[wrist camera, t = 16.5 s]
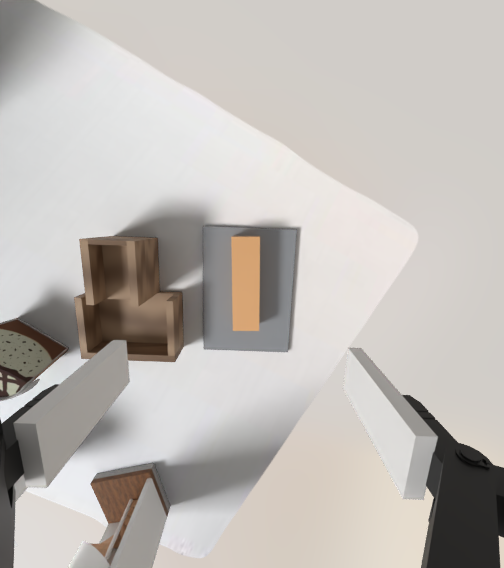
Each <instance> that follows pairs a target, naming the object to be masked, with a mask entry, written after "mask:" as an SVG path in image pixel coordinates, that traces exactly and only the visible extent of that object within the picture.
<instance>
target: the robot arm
mask: <svg viewBox="0 0 504 568" xmlns="http://www.w3.org/2000/svg"><path fill="white" fill-rule="evenodd" d="M129 382H130V381H129V369H128V356H127V343H126V340H113V341H111V342H110V343H109V344H108V345H107V346H105V347H104V348H103V349H102V350H101V351H99V352H98V353H97V354H96V355H94V356H93V357H92V358H91V359H90V360H88V361H87V362H86V363H85V364H84V365H82V366H81V367H80V368H79V369H78V370H76V371H75V372H74V373H73V374H72V375H70V376H69V377H68V378H67V379H66V380H64V381H63V382H62V383H61V384H60V385H57V384H55V385H53V386H52V387H50V388H48V389H46V390H44V391H42V392H41V393H40V394H38V395H37V396H36V397H35V398H33V400H32V401H30V402H28V403H27V404H26V405H25V406H24V407H22V408H21V409H19V410H18V411H17V412H16V413H14V414H13V415H12V416H11V417H9V418H8V419H7V420H6V421H4V422H3V423H2V424H1V420H0V568H13V563H14V562H13V561H14V530H15V496H16V491H15V486H14V484H15V483H16V482H17V481H18V480H19V478H20V477H21V476H22V475H23V474H24V479H25V484H26V487H36V488H47V487H48V486H49V485H50V483H51V482H52V481H53V479H54V478H55V477H56V476H57V474H58V473H59V472H60V470H61V469H62V468H63V467H64V465H65V464H66V463H67V461H68V460H69V459H70V458H71V456H72V455H73V454H74V452H75V451H76V450H77V449H78V447H79V446H80V445H81V444H82V442H83V441H84V440H85V438H86V437H87V436H88V435H89V433H90V432H91V431H92V429H93V428H94V427H95V426H96V424H97V423H98V422H99V420H100V419H101V418H102V417H103V415H104V414H105V413H106V411H107V410H108V409H109V408H110V406H111V405H112V404H113V402H114V401H115V400H116V399H117V397H118V396H119V395H120V394H121V392H122V391H123V390H124V388H125V387H126V386H127V385H128V383H129ZM343 390H344V391H345V393H346V395H347V397H348V399H349V401H350V403H351V405H352V406H353V408H354V410H355V412H356V414H357V416H358V417H359V419H360V421H361V423H362V425H363V427H364V428H365V430H366V432H367V434H368V436H369V438H370V439H371V441H372V443H373V445H374V447H375V449H376V451H377V452H378V454H379V456H380V458H381V459H382V461H383V463H384V465H385V467H386V469H387V471H388V472H389V474H390V476H391V478H392V480H393V482H394V484H395V485H396V487H397V489H398V491H399V493H400V495H401V497H402V498H403V499H418V500H419V499H420V500H423V499H424V495H425V490H426V487H427V488H428V489H429V491H430V492H431V494H432V495H433V497H434V500H433V504H432V508H431V512H430V516H429V526H428V532H427V537H426V543H425V548H424V554H423V560H422V565H421V568H500V554H499V537H498V536H501V537H504V468H502V467H499V466H495V465H493V464H492V463H491V462H490V461H489V459H488V458H487V457H485V456H484V455H483V454H482V453H480V452H479V451H477V450H475V449H474V448H472V447H470V446H467V445H464V444H461V443H458V442H457V441H456V440H455V439H454V438H453V437H452V436H451V435H450V434H449V433H448V432H447V430H446V429H445V428H444V427H443V426H442V425H441V424H440V423H439V422H438V421H437V420H435V418H434V417H433V415H432V414H431V413H429V412H428V410H427V409H426V408H425V407H424V406H423V405H422V404H421V403H420V402H419V401H417V400H416V399H414V398H413V397H411V396H410V395H401V394H400V392H399V391H398V390H397V389H396V388H395V387H394V386H393V384H392V383H391V382H390V381H389V380H388V379H387V378H386V376H385V375H384V374H383V373H382V372H381V371H380V369H379V368H378V367H377V366H376V365H375V364H374V363H373V361H372V360H371V359H370V358H369V357H368V356H367V354H366V353H365V352H364V351H363V350H362V349H361V348H348V354H347V362H346V370H345V377H344V385H343Z"/></svg>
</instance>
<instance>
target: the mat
mask: <svg viewBox="0 0 504 568" xmlns="http://www.w3.org/2000/svg"><path fill="white" fill-rule="evenodd" d="M296 233H297V230H294V229H267V228H240V227H214V226H203V312H204V349H211V350H239V351H266V352H288V343H289V329H290V315H291V302H292V288H293V274H294V261H295V247H296ZM232 236H260V299H259V331H233V314H232V248H231V237H232Z"/></svg>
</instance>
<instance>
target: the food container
mask: <svg viewBox="0 0 504 568" xmlns="http://www.w3.org/2000/svg"><path fill="white" fill-rule="evenodd" d="M68 349H69V347H67V346H65V345H63V344H62V343H60V342H58V341H57V340H55V339H53V338H51V337H50V336H48V335H46V334H45V333H43V332H41V331H39V330H38V329H36V328H34V327H33V326H31V325H29V324H27V323H26V322H24V321H22V320H21V319H19V318H15V319H12V320H9V321H5V322H2V323H0V401H3V400H7V399H11V398H14V397H16V396H19V395H21V394H23V393H25V392H27V391H29V390H30V389H32V388H33V387H34V386H35V385H36V384H37V383H38V381H39V380H40V379H38V380H36V381H34V380H35V379H36V378H37V377H38V376H39V375H40V374H42V373H43V372H44V371H45V370H46V369H47V368H48V367H50V366H51V365H52V364H53V363H54V362H55V361H56V360H58V359H59V358H60V357H61V356H62V355H63V354H64V353H65V352H66V351H67V350H68Z"/></svg>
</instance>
